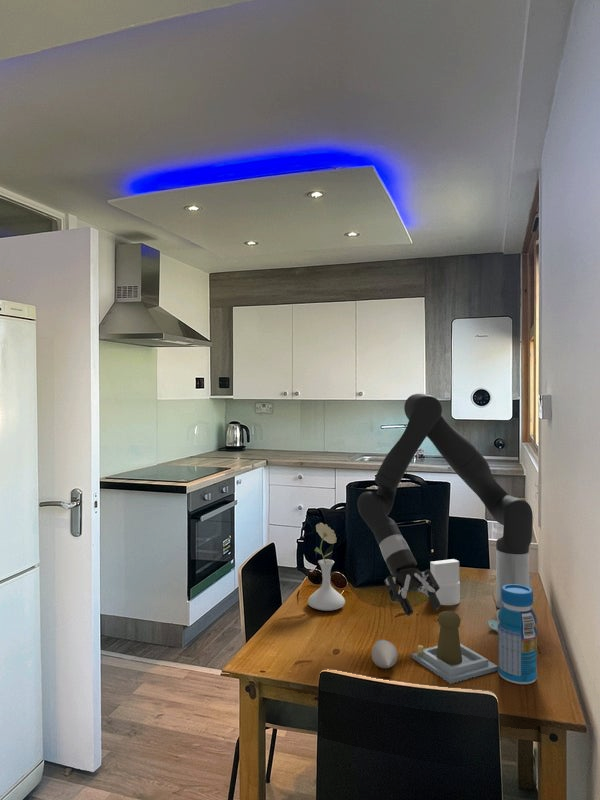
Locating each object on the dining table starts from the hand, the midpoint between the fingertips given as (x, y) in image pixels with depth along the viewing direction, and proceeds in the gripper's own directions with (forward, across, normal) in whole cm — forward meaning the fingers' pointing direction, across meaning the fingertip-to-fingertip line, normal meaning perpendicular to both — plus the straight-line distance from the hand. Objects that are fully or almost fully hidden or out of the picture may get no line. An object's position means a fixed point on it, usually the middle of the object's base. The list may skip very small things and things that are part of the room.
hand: (424, 611), depth 143 cm
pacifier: (+8, +25, +4) cm, 26 cm away
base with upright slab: (-10, +26, +22) cm, 36 cm away
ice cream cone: (+10, -16, +2) cm, 19 cm away
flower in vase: (-18, -10, +31) cm, 37 cm away
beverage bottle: (+22, +9, -9) cm, 25 cm away
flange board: (+14, 0, -2) cm, 14 cm away
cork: (+13, -1, -2) cm, 13 cm away
